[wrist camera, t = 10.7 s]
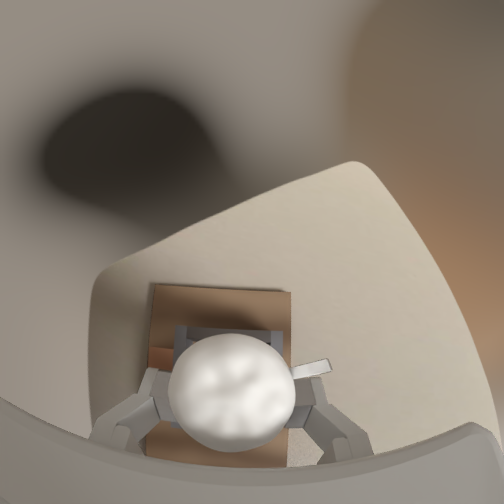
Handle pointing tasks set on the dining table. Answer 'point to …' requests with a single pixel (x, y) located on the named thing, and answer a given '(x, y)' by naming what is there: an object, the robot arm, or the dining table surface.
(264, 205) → the dining table surface
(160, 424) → the port board
